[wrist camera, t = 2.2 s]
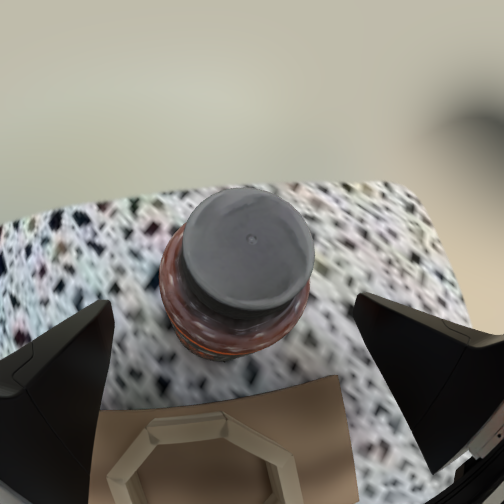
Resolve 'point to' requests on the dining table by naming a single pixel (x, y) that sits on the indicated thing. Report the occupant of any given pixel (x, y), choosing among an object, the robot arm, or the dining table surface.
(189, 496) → the collar board
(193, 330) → the supplement bottle
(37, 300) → the dining table surface
